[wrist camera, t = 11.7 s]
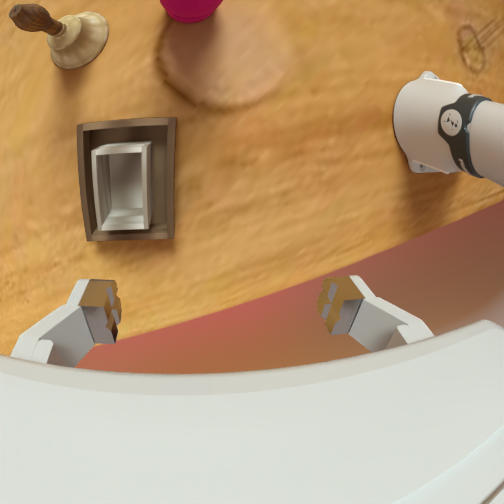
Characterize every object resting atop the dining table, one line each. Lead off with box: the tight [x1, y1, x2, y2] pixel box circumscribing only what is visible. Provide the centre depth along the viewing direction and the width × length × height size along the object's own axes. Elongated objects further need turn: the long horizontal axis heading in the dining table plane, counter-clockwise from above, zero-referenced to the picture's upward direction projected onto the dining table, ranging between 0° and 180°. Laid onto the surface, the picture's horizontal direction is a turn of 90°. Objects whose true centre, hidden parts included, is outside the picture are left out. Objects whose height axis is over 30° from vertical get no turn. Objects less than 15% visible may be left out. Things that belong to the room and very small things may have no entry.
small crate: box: [91, 141, 153, 231], centre depth 29 cm, size 6×9×6 cm, turn 175°
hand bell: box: [9, 4, 109, 69], centre depth 14 cm, size 8×8×16 cm
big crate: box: [77, 117, 177, 241], centre depth 30 cm, size 12×15×4 cm
